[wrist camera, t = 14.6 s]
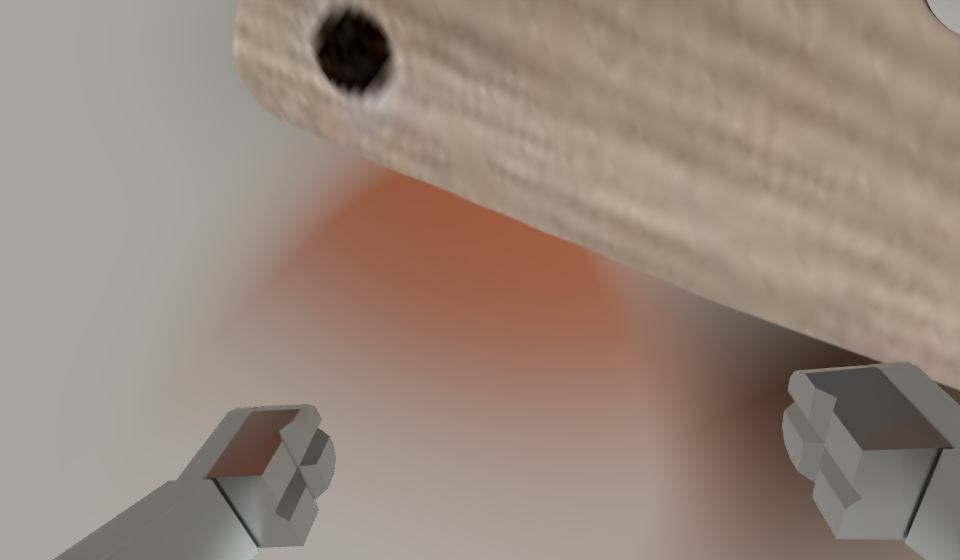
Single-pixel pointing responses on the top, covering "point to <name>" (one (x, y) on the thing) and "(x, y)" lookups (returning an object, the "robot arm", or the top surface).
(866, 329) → the top surface
